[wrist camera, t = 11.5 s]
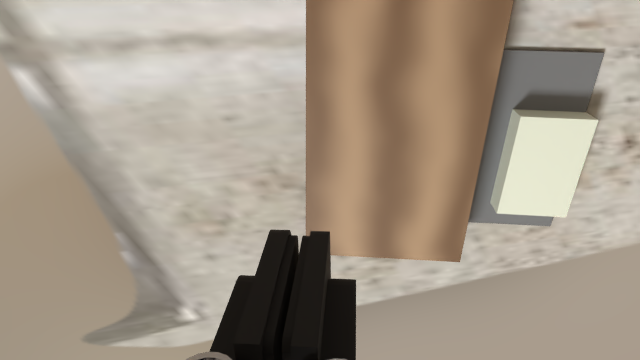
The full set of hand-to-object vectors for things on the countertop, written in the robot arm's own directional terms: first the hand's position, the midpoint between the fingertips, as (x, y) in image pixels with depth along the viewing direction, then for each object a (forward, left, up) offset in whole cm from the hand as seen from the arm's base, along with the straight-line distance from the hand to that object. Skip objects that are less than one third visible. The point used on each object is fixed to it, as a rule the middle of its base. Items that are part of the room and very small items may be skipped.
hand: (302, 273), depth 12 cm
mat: (-16, +6, -26) cm, 31 cm away
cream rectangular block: (-18, +7, -24) cm, 31 cm away
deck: (-5, +5, -26) cm, 27 cm away
